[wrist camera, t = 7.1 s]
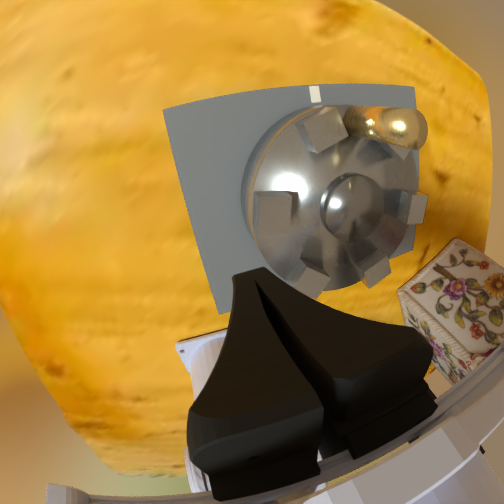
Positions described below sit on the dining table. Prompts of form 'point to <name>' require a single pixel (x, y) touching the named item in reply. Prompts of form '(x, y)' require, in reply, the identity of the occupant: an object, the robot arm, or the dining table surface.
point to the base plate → (235, 159)
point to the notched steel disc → (334, 193)
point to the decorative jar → (457, 308)
